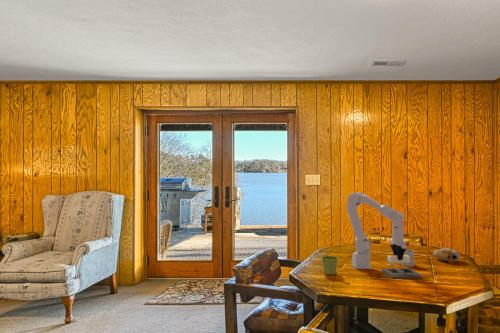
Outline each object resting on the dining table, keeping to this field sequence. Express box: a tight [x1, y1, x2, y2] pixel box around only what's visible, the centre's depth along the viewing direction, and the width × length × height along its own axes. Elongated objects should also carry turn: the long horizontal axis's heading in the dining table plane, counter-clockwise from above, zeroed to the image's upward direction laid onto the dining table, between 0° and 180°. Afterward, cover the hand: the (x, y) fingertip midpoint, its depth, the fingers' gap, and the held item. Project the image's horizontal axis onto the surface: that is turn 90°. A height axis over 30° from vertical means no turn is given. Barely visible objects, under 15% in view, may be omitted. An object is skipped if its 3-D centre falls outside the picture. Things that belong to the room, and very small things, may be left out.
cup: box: [400, 248, 415, 268], centre depth 204 cm, size 7×10×9 cm
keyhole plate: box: [381, 267, 422, 279], centre depth 185 cm, size 16×12×2 cm
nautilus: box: [432, 247, 461, 266], centre depth 211 cm, size 8×21×15 cm
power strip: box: [386, 254, 410, 267], centre depth 187 cm, size 11×4×5 cm, turn 92°
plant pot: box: [320, 255, 339, 276], centre depth 187 cm, size 9×9×9 cm
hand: (398, 259), depth 187 cm, fingers closed on power strip, 4 cm apart
